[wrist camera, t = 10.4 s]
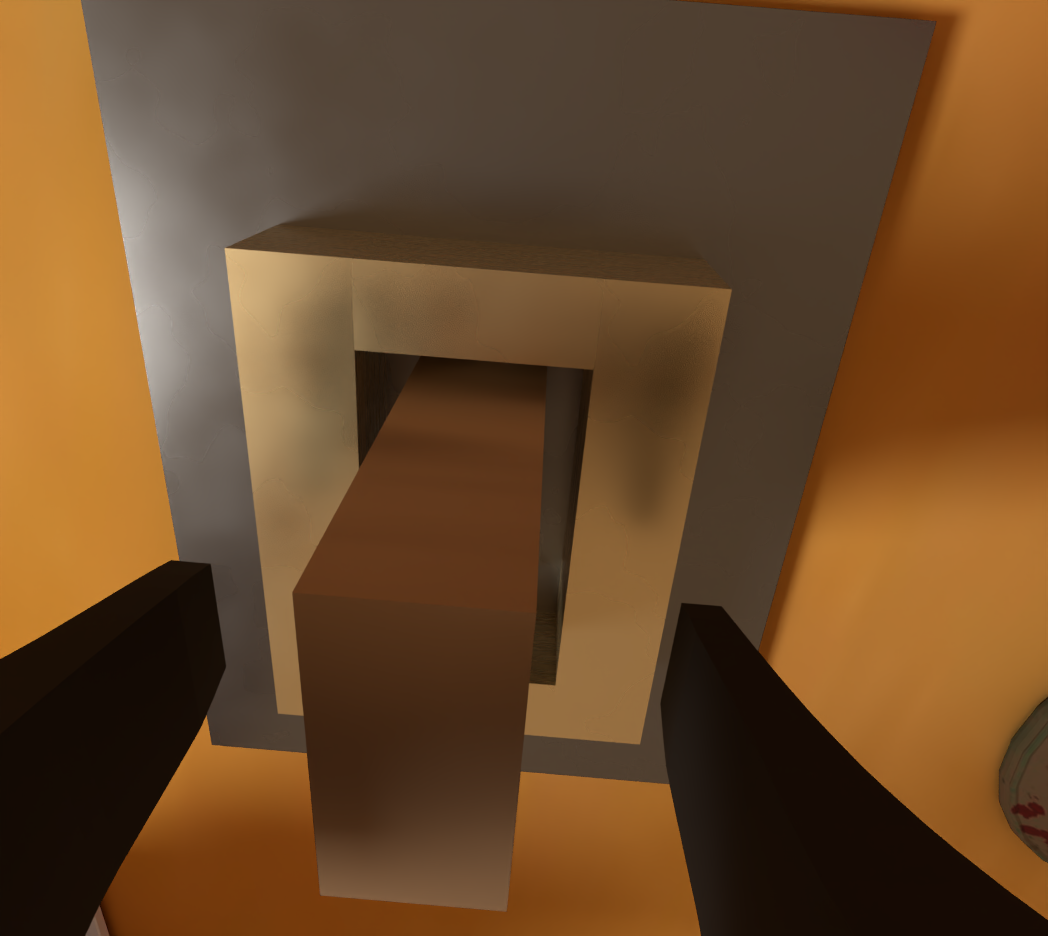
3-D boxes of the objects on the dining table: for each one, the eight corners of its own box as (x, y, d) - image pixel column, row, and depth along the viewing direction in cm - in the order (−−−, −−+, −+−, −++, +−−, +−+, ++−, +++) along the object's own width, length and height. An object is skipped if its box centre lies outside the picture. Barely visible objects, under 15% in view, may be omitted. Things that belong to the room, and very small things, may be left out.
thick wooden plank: (528, 567, 17) (506, 911, 10) (421, 557, 17) (320, 894, 10) (546, 360, 14) (535, 612, 7) (423, 350, 14) (291, 592, 7)
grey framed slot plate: (714, 770, 20) (738, 871, 18) (221, 728, 20) (170, 822, 18) (919, 25, 12) (1021, 3, 9) (94, -41, 12) (-37, -81, 10)
